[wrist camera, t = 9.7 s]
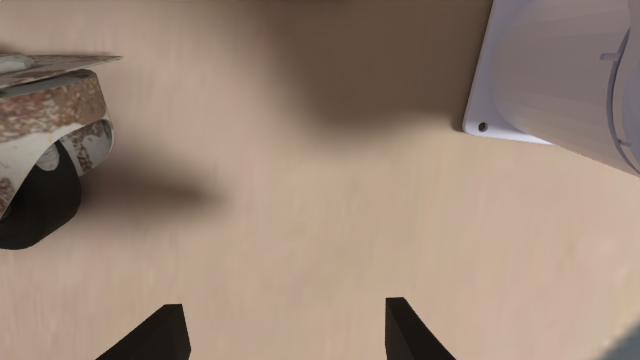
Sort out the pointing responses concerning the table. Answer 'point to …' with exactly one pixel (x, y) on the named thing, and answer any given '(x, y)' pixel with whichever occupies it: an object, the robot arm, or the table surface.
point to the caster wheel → (47, 141)
